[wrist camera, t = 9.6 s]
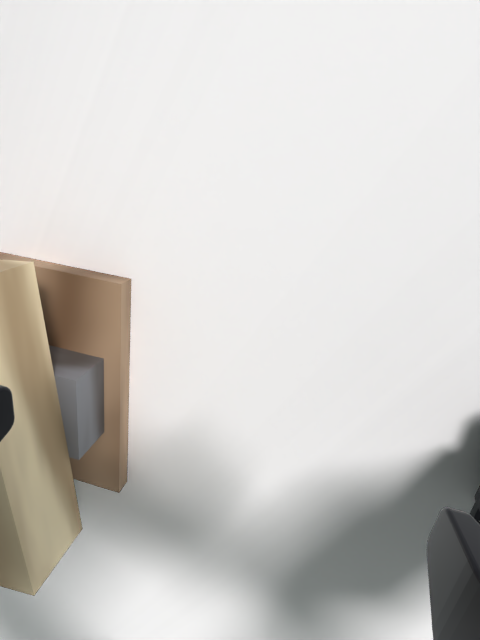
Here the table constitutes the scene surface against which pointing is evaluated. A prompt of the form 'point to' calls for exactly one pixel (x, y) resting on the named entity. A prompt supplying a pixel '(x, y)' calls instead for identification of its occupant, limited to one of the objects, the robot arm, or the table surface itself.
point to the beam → (31, 442)
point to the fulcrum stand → (89, 365)
